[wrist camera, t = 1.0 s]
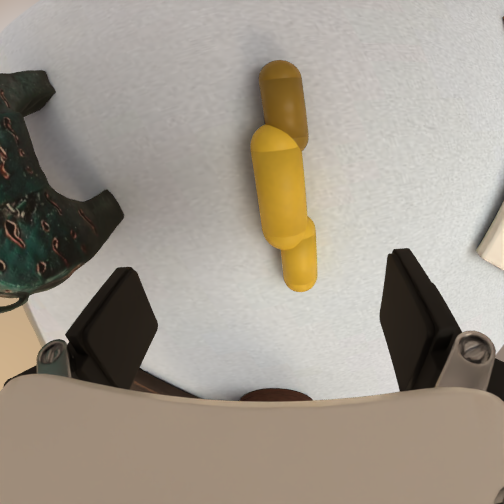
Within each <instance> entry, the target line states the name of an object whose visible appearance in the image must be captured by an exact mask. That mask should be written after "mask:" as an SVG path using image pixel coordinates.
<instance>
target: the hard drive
mask: <svg viewBox="0 0 504 504" xmlns="http://www.w3.org/2000/svg"><path fill="white" fill-rule="evenodd" d="M476 251H477V253H478V254H479V255H480V257H481V258H483V259H484V260H486V261H488V262H490V263H491V264H493V265H495V266H497V267H498V268H500V269H502V270H504V201H503V203H502V205H501V207H500V209H499V211H498V213H497V215H496V217H495V219H494V221H493V222H492V224H491V226H490V228H489V230H488V231H487V233H486V235H485V237H484V238H483V240H482V242H481V243H480V245H479V247H478V248H477V250H476Z"/></svg>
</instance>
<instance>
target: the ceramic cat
mask: <svg viewBox="0 0 504 504" xmlns="http://www.w3.org/2000/svg"><path fill="white" fill-rule="evenodd" d="M54 93H55V90H54V88H53V87H52V86H51V85H50V83H49V81H48V78H47V75H46V72H45V71H43V70H36V71H22V72H16V73H11V74H3V73H1V74H0V297H5V298H19V301H18V302H16V303H14V304H11V305H8V306H3V307H0V313H4V312H7V311H11V310H13V309H15V308H17V307H19V306H21V305H23V304H25V303H26V302H27V301H28V298H29V295H32V294H34V293H38V292H42V291H47V290H49V289H52V288H54V287H56V286H58V285H59V284H61V283H63V282H64V281H65V280H67V279H68V278H69V277H70V276H71V275H72V274H73V273H74V272H75V271H76V270H77V269H78V268H80V267H81V266H82V265H84V264H85V263H86V262H88V261H89V260H90V259H92V258H93V257H94V255H95V254H96V253H97V252H98V251H99V249H100V248H101V247H102V245H103V244H104V243H105V242H106V240H107V239H108V238H109V236H110V235H111V234H112V232H113V231H114V230H115V228H116V227H117V226H118V225H119V223H120V222H121V221H122V220H123V218H124V214H123V212H122V210H121V208H120V206H119V204H118V202H117V201H116V199H115V198H114V196H113V195H112V194H111V193H110V192H109V191H108V190H104V191H103V192H102V193H100V194H99V195H97V196H95V197H94V198H92V199H90V200H87V201H85V202H80V201H76V200H72V199H69V198H67V197H64V196H63V195H61V194H59V193H58V192H56V191H55V190H54V189H53V188H52V187H51V186H50V185H49V183H48V181H47V178H46V176H45V174H44V172H43V171H42V169H41V167H40V165H39V162H38V159H37V157H36V155H35V152H34V149H33V145H32V142H31V139H30V136H29V133H28V130H27V127H26V124H25V121H24V117H25V116H27V115H29V114H31V113H34V112H36V111H38V110H40V109H41V108H42V107H43V106H44V105H45V104H46V103H47V101H48V100H49V99H50V97H51V96H52V95H53V94H54Z"/></svg>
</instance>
